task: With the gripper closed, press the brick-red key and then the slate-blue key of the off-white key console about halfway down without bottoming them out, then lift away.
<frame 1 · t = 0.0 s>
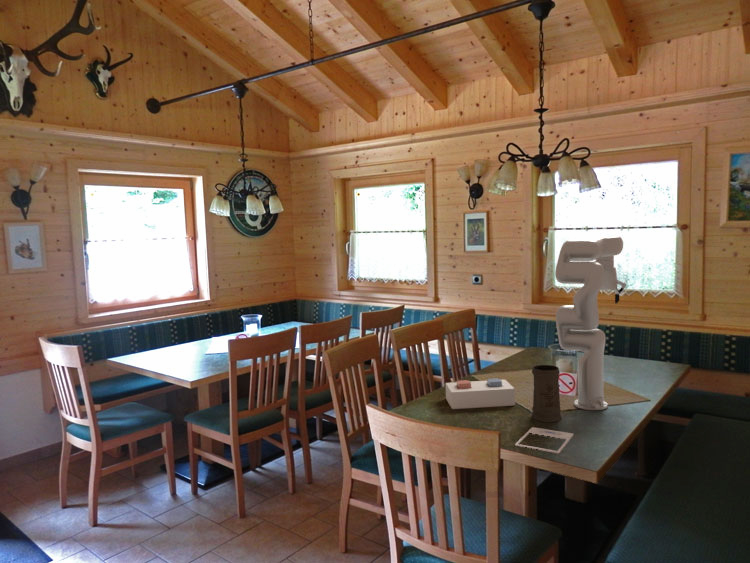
hand: (604, 302, 250), 37 cm above the table, tool pointing down, fingers open, 9 cm apart
red key: (463, 386, 236), point 7 cm above the table, slide at 0.0 cm
photo frame: (544, 442, 193), on the table
blue key: (494, 384, 237), point 7 cm above the table, slide at 0.0 cm
beer stein: (543, 416, 217), on the table
key console: (479, 401, 237), on the table
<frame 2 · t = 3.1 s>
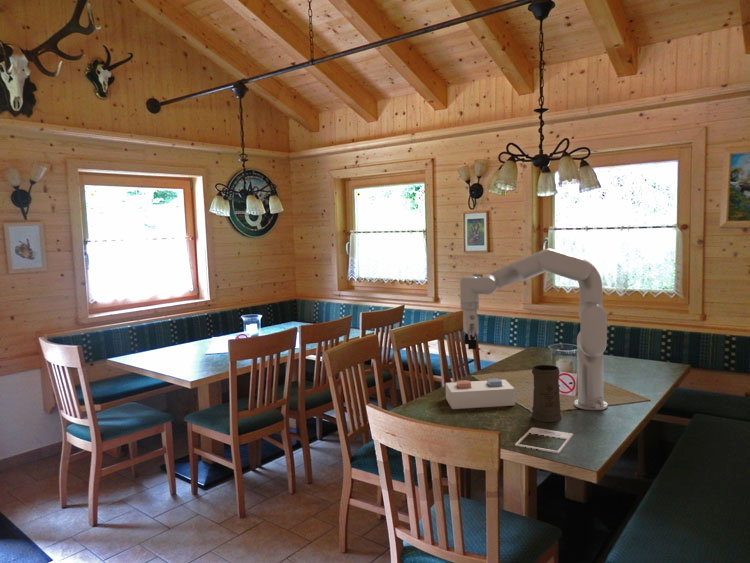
hand: (470, 346, 236), 24 cm above the table, tool pointing down, fingers open, 9 cm apart
nothing on the table moved.
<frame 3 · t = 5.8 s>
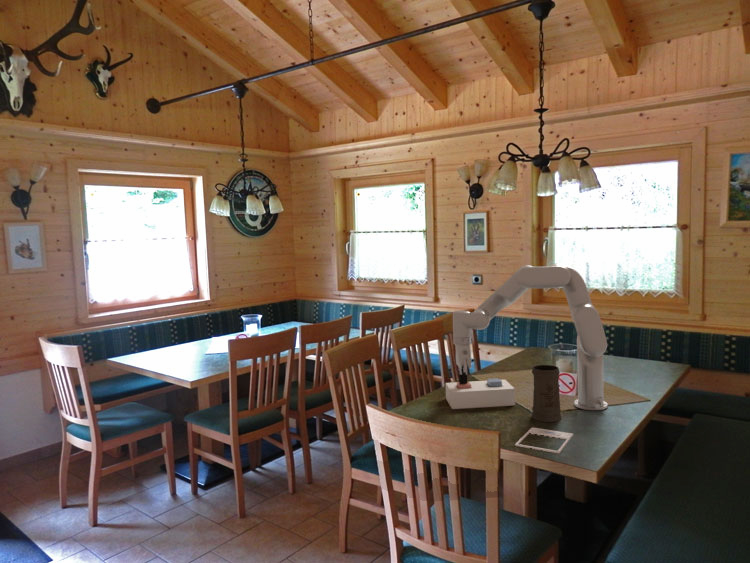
hand: (463, 383, 236), 8 cm above the table, tool pointing down, fingers closed
red key: (463, 388, 236), point 6 cm above the table, slide at 0.7 cm, touching gripper
everything else where it was.
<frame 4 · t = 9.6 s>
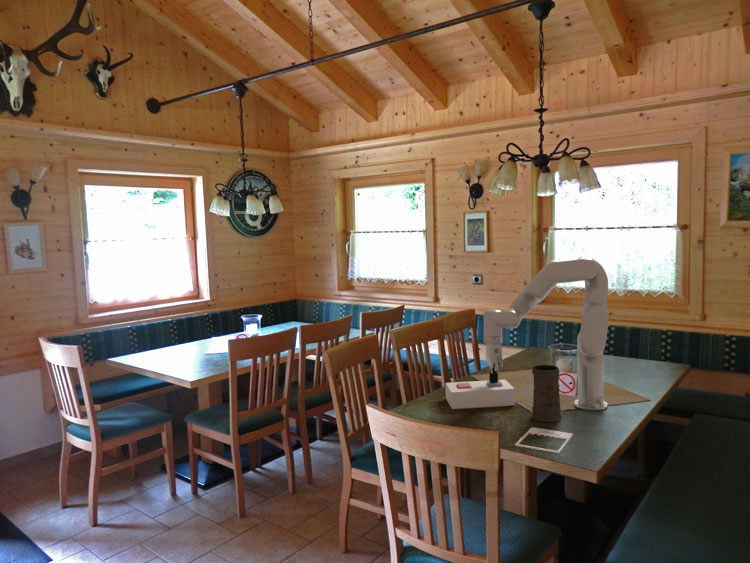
hand: (493, 381, 237), 8 cm above the table, tool pointing down, fingers closed
red key: (463, 389, 236), point 6 cm above the table, slide at 1.3 cm
blue key: (494, 386, 237), point 6 cm above the table, slide at 0.8 cm, touching gripper
everything else where it was.
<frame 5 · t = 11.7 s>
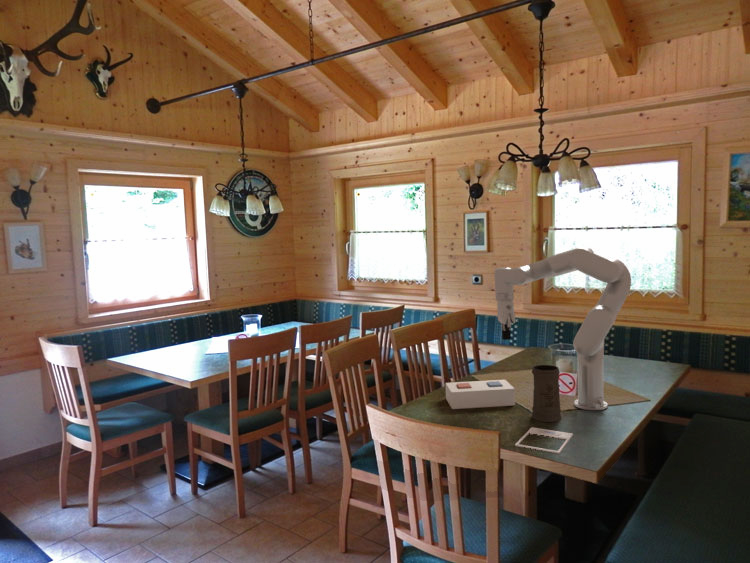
hand: (506, 339, 241), 25 cm above the table, tool pointing down, fingers closed
blue key: (494, 387, 237), point 6 cm above the table, slide at 1.3 cm
everything else where it was.
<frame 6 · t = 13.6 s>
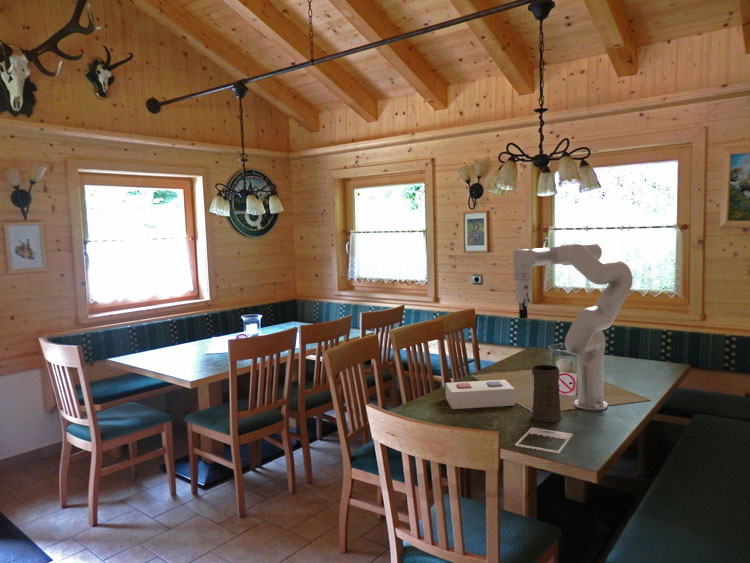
hand: (523, 318, 250), 32 cm above the table, tool pointing down, fingers closed
nothing on the table moved.
at the end: red key slide at 1.3 cm; blue key slide at 1.3 cm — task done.
